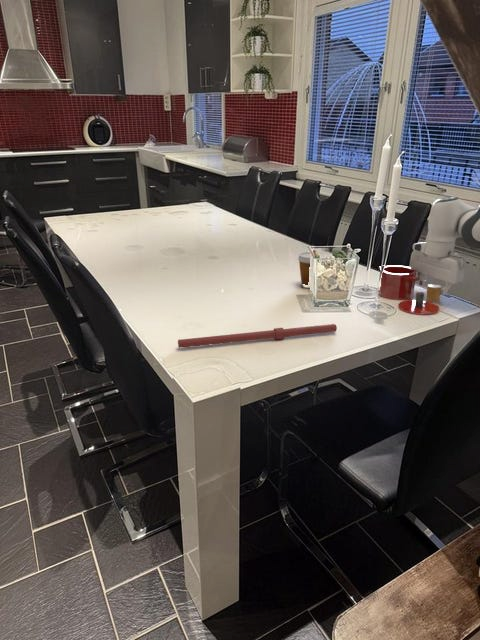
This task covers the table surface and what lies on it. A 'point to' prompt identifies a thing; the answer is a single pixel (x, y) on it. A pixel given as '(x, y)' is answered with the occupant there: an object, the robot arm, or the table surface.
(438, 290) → the brass tin
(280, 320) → the table surface
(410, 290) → the red cooking pot
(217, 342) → the dark red rod
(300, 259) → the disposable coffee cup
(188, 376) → the table surface
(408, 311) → the lid
